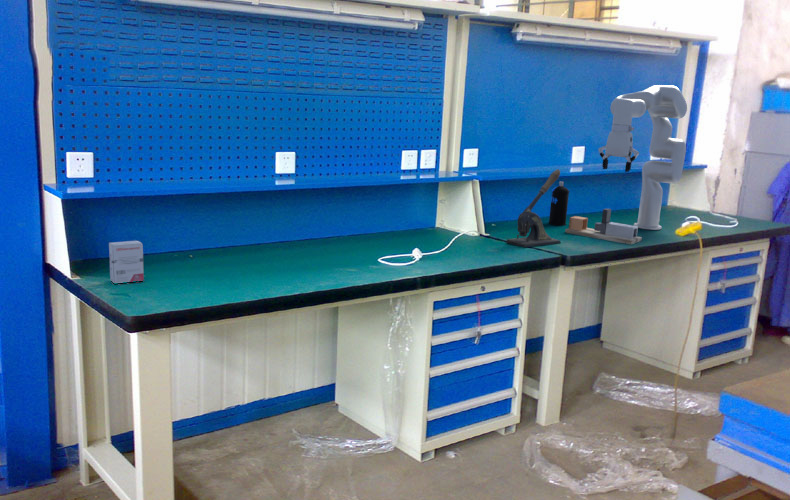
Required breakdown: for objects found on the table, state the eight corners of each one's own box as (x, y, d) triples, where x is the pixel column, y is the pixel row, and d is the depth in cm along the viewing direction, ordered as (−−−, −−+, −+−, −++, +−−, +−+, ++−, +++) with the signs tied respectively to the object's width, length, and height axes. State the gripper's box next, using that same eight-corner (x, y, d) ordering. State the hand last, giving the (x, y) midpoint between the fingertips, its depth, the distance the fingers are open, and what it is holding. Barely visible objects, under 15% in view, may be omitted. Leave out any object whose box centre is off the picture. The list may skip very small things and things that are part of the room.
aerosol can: (564, 223, 346) (569, 181, 342) (567, 226, 338) (571, 183, 334) (547, 221, 347) (551, 180, 343) (549, 225, 339) (553, 182, 335)
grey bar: (597, 230, 322) (600, 207, 320) (634, 236, 312) (637, 213, 310) (593, 231, 319) (596, 208, 316) (630, 238, 309) (633, 214, 306)
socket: (574, 226, 330) (575, 216, 329) (586, 229, 326) (587, 218, 325) (568, 228, 325) (569, 217, 324) (581, 230, 322) (582, 219, 321)
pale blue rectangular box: (609, 233, 319) (611, 222, 318) (636, 237, 312) (638, 226, 311) (605, 234, 315) (606, 223, 314) (632, 239, 308) (633, 227, 307)
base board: (577, 229, 332) (577, 226, 332) (641, 240, 314) (641, 237, 314) (565, 232, 323) (565, 229, 323) (630, 244, 305) (631, 241, 305)
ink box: (139, 278, 218) (138, 239, 216) (144, 282, 214) (143, 242, 212) (109, 281, 213) (108, 241, 211) (113, 285, 209) (112, 245, 207)
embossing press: (503, 243, 295) (510, 169, 288) (544, 238, 309) (551, 167, 302) (523, 248, 286) (530, 172, 280) (564, 243, 300) (571, 171, 294)
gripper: (644, 130, 300) (639, 172, 304) (604, 127, 311) (600, 167, 314) (638, 130, 294) (632, 173, 298) (597, 127, 305) (592, 168, 308)
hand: (616, 170), depth 306 cm, fingers open, 9 cm apart
